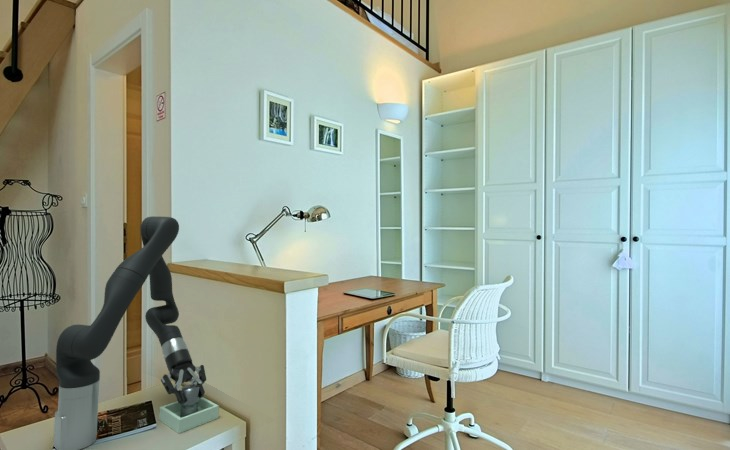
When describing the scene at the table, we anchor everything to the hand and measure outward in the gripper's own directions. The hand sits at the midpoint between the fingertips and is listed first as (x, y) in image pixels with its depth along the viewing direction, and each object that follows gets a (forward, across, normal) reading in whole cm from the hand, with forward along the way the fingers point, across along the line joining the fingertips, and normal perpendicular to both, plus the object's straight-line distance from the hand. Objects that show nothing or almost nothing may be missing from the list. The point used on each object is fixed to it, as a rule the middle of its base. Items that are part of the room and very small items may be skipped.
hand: (192, 399), depth 122 cm
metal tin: (+3, 0, +5) cm, 6 cm away
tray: (+4, 0, +6) cm, 7 cm away
